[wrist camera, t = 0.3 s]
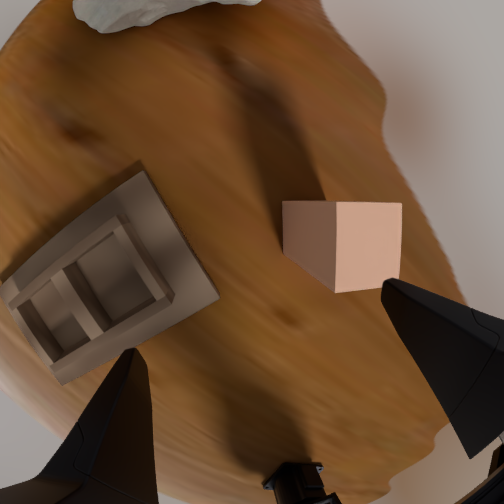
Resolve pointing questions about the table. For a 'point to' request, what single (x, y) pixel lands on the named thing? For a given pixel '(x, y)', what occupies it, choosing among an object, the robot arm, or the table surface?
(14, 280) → the rack
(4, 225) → the table surface
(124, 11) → the rock
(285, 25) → the table surface
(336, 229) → the clay block
